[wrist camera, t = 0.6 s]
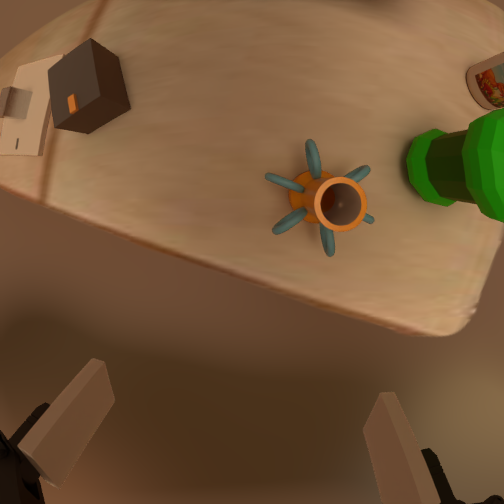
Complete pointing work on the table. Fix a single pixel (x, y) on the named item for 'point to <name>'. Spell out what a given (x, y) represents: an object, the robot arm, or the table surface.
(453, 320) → the table surface
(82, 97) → the dark grey block
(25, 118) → the board
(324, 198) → the orange tube with rings
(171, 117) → the table surface
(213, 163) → the table surface
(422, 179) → the plastic bottle
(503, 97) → the milk bottle
